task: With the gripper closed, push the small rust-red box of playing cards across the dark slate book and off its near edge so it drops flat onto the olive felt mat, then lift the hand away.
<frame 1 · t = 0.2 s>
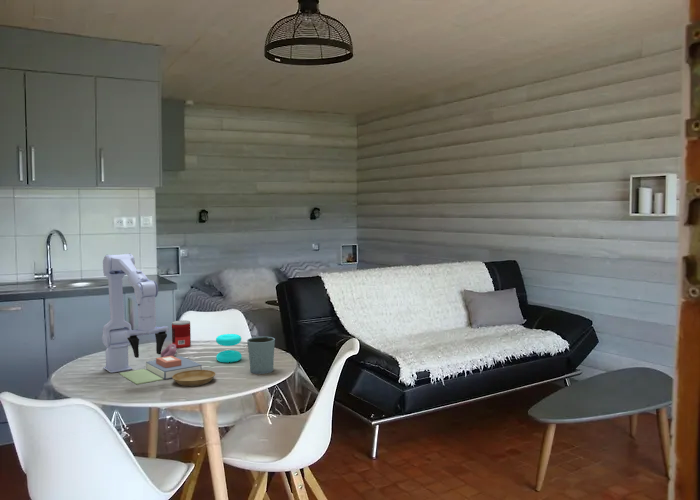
hand: (147, 355, 206), 10 cm above the table, tool pointing down, fingers open, 7 cm apart
pink rounded piece: (169, 358, 245), on the table
card box: (168, 364, 223), point 3 cm above the table, touching book deck
book deck: (173, 371, 224), on the table
canned food: (181, 346, 267), on the table
plant saucer: (194, 382, 210), on the table
grey plant pot: (261, 371, 224), on the table
donuts: (229, 360, 241), on the table
felt mat: (140, 376, 217), on the table
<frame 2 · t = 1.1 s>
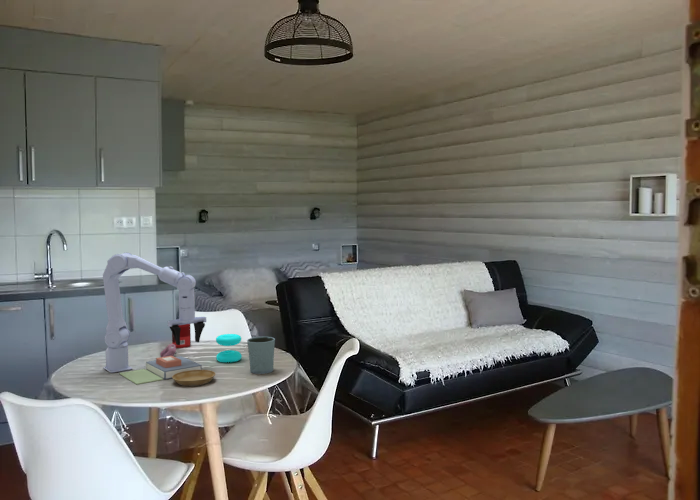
hand: (187, 343, 227), 10 cm above the table, tool pointing down, fingers open, 7 cm apart
nothing on the table moved.
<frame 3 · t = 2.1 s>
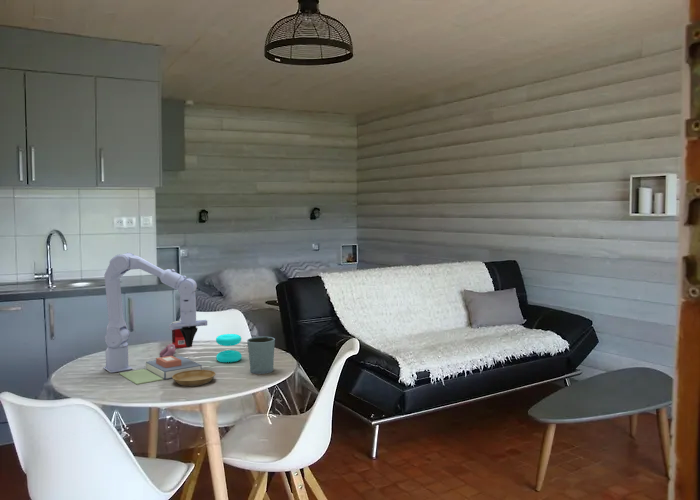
hand: (189, 346, 227), 9 cm above the table, tool pointing down, fingers closed
nothing on the table moved.
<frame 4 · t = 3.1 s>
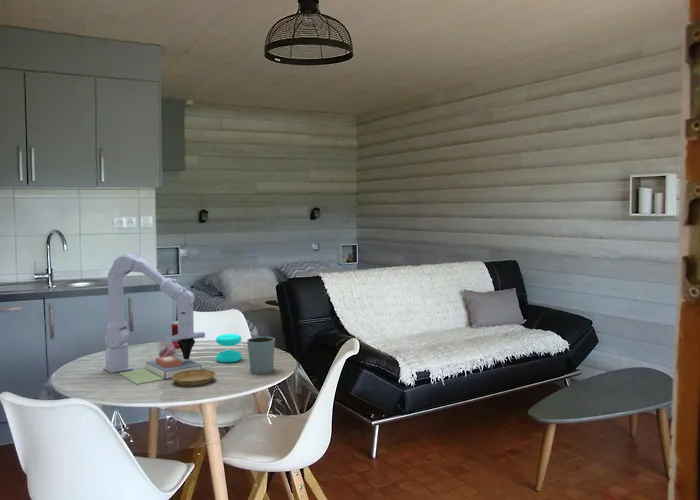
hand: (186, 358, 227), 4 cm above the table, tool pointing down, fingers closed
nothing on the table moved.
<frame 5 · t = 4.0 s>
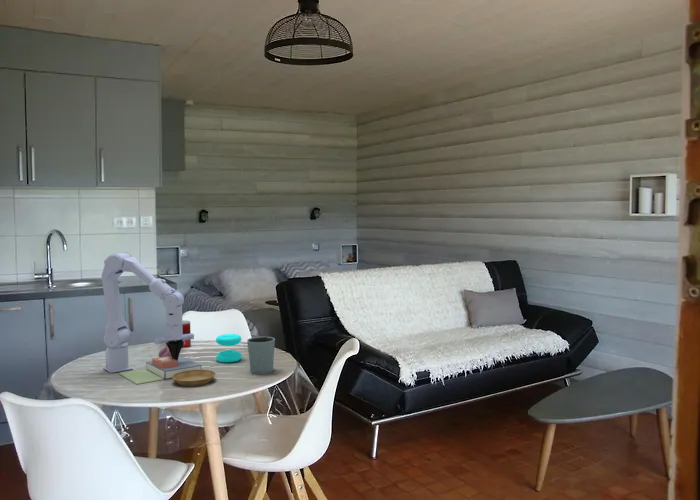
hand: (175, 360, 224), 4 cm above the table, tool pointing down, fingers closed
card box: (164, 365, 222), point 3 cm above the table, touching book deck, gripper
everything else where it was.
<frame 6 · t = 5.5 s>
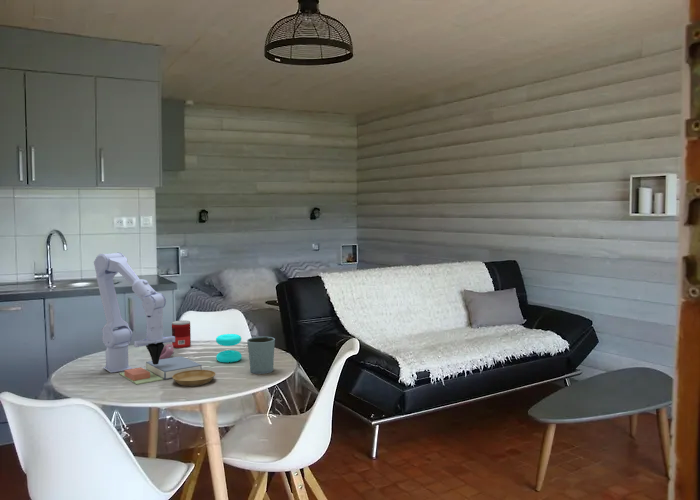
hand: (155, 363, 219), 4 cm above the table, tool pointing down, fingers closed
card box: (137, 371, 215), point 2 cm above the table, tilted 180°, touching felt mat
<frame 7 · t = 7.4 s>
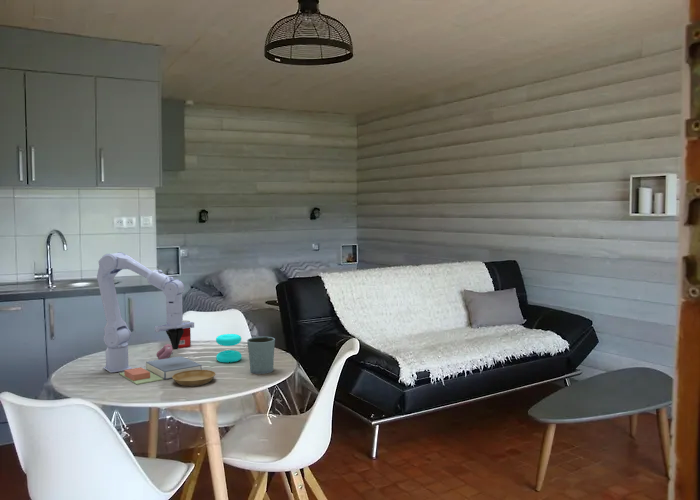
hand: (175, 348, 224), 8 cm above the table, tool pointing down, fingers closed
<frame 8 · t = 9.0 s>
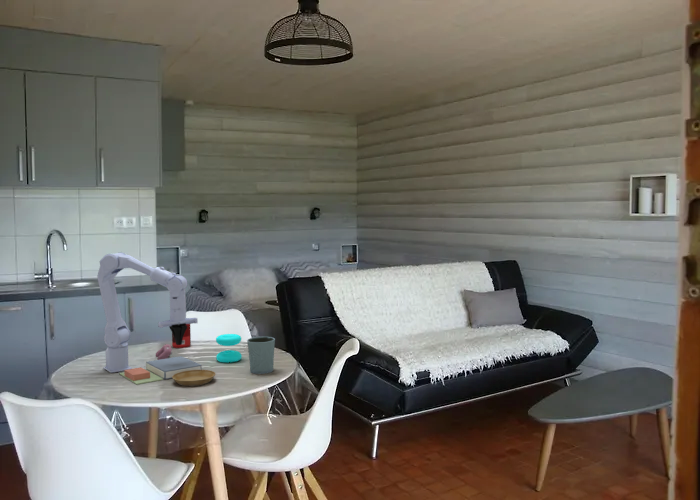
hand: (178, 344, 225), 10 cm above the table, tool pointing down, fingers closed
at the end: card box inside the target area on the felt mat (1.6 cm from its centre), point 2.5 cm above the felt mat's base; card box touching felt mat; card box moved 11.8 cm from its start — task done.
